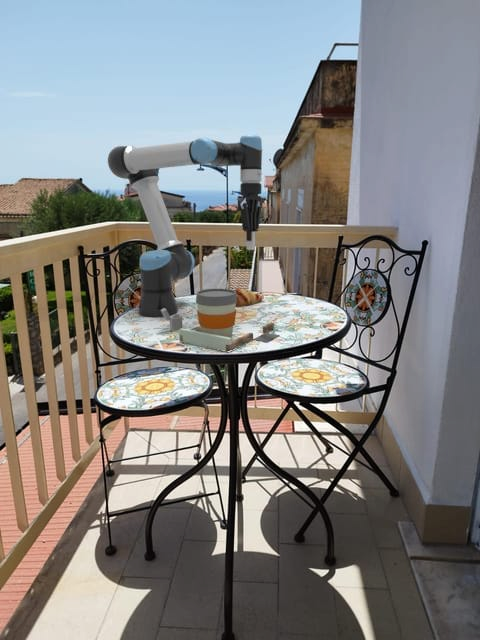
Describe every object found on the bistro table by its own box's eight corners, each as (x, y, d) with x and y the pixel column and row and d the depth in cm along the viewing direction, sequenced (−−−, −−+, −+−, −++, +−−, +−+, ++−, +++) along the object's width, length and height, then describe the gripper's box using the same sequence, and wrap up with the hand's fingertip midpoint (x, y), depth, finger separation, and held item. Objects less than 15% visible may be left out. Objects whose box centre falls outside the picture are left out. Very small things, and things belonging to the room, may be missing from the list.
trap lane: (217, 319, 155) (217, 313, 155) (287, 331, 140) (287, 325, 140) (167, 338, 134) (167, 332, 133) (244, 355, 119) (244, 348, 118)
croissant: (259, 307, 187) (255, 290, 188) (271, 301, 178) (266, 283, 180) (216, 312, 177) (212, 294, 178) (226, 306, 168) (222, 287, 169)
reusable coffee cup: (201, 347, 125) (200, 298, 121) (193, 335, 137) (192, 289, 133) (242, 343, 129) (242, 295, 125) (231, 331, 140) (230, 287, 136)
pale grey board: (182, 340, 132) (181, 328, 131) (231, 351, 122) (231, 338, 121) (180, 341, 131) (179, 329, 130) (229, 352, 121) (229, 339, 120)
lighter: (180, 328, 145) (179, 305, 143) (183, 329, 144) (182, 306, 142) (161, 331, 141) (160, 308, 139) (163, 332, 140) (162, 309, 138)
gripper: (250, 181, 144) (250, 251, 150) (269, 183, 154) (268, 248, 161) (232, 182, 148) (232, 250, 154) (251, 183, 158) (251, 247, 165)
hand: (250, 249), depth 157 cm, fingers closed
